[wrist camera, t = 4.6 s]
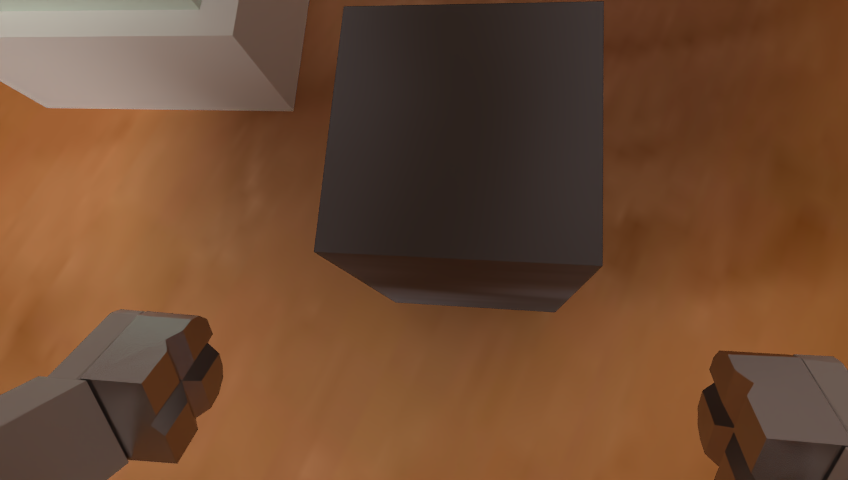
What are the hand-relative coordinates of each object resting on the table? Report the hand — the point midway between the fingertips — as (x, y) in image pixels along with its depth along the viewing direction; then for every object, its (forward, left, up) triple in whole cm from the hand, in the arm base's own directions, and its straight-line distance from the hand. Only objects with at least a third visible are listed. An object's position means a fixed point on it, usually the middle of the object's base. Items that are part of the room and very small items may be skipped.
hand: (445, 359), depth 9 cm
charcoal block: (0, -4, -8) cm, 9 cm away
